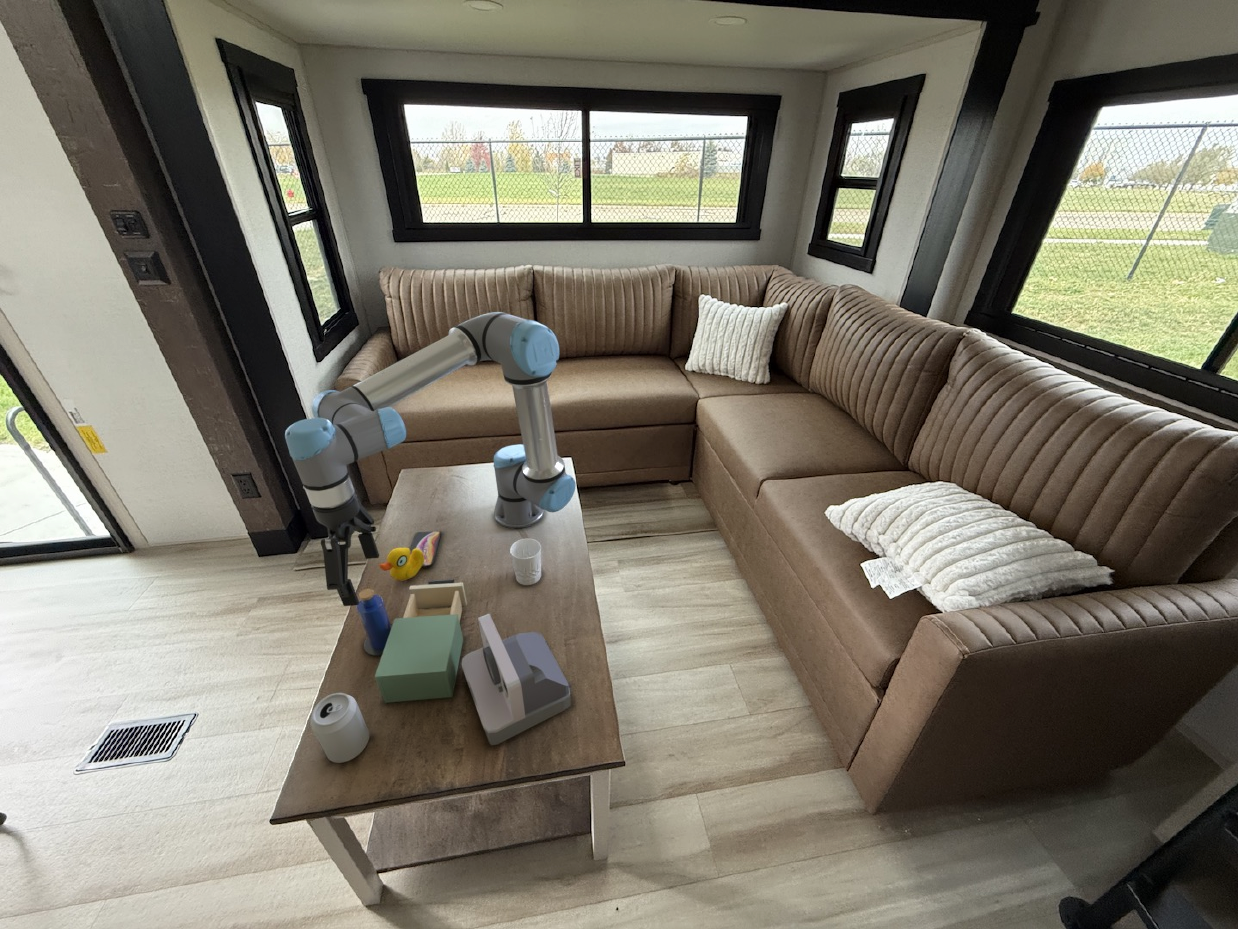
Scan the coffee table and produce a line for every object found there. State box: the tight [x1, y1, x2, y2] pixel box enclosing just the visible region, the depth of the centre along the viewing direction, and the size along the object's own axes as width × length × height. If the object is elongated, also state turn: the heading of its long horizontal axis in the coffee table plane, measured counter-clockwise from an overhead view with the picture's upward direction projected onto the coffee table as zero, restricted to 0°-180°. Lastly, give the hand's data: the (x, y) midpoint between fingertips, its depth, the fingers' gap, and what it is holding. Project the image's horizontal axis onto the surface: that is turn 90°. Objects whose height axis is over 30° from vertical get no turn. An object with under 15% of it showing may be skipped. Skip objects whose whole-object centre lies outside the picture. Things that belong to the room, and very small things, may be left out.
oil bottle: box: [356, 588, 392, 650], centre depth 111 cm, size 5×5×15 cm
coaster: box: [363, 625, 392, 657], centre depth 115 cm, size 8×8×1 cm
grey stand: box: [461, 613, 572, 746], centre depth 101 cm, size 21×21×15 cm
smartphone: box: [409, 530, 442, 569], centre depth 141 cm, size 8×1×15 cm
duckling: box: [379, 547, 424, 581], centre depth 129 cm, size 11×5×10 cm, turn 144°
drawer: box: [402, 578, 468, 622], centre depth 118 cm, size 18×12×7 cm
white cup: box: [509, 537, 542, 586], centre depth 131 cm, size 8×8×10 cm
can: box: [309, 692, 370, 764], centre depth 91 cm, size 8×8×12 cm
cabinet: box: [374, 614, 464, 704], centre depth 107 cm, size 15×14×9 cm
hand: (362, 579), depth 105 cm, fingers open, 13 cm apart
